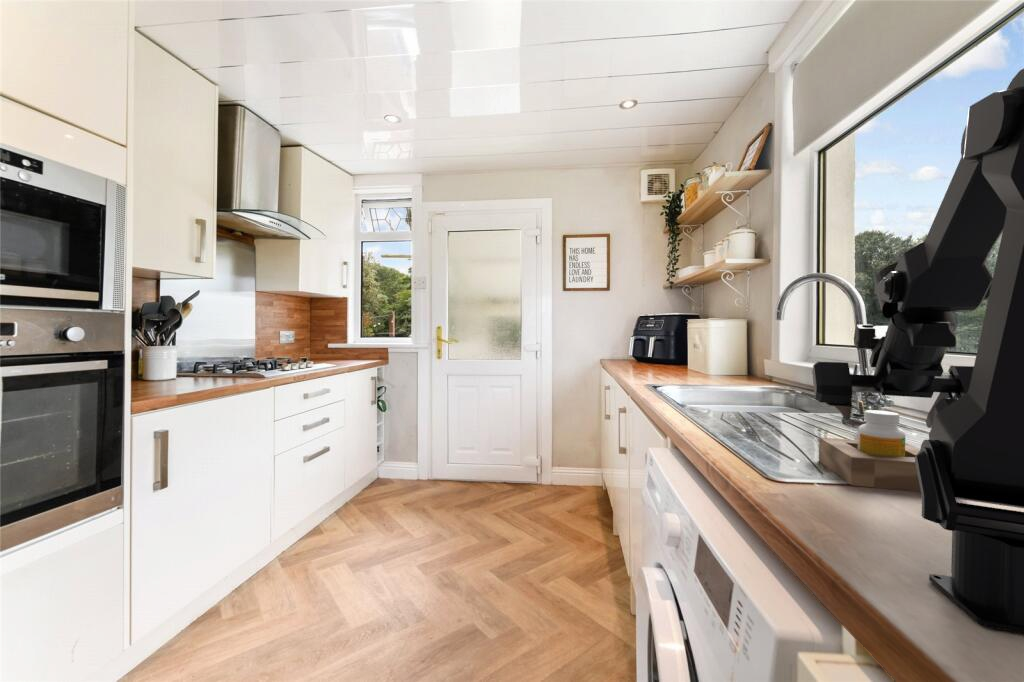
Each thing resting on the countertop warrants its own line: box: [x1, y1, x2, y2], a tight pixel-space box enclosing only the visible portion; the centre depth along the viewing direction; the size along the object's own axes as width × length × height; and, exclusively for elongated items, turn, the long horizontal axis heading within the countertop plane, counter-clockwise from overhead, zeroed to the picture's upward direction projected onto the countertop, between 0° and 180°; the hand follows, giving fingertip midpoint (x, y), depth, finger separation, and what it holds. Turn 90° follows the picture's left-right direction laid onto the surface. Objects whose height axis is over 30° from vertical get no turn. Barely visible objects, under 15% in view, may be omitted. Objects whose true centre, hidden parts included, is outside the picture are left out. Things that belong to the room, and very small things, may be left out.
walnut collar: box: [818, 436, 921, 493], centre depth 64 cm, size 12×12×4 cm
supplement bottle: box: [857, 409, 906, 457], centre depth 64 cm, size 5×5×10 cm
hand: (885, 421), depth 62 cm, fingers open, 9 cm apart
